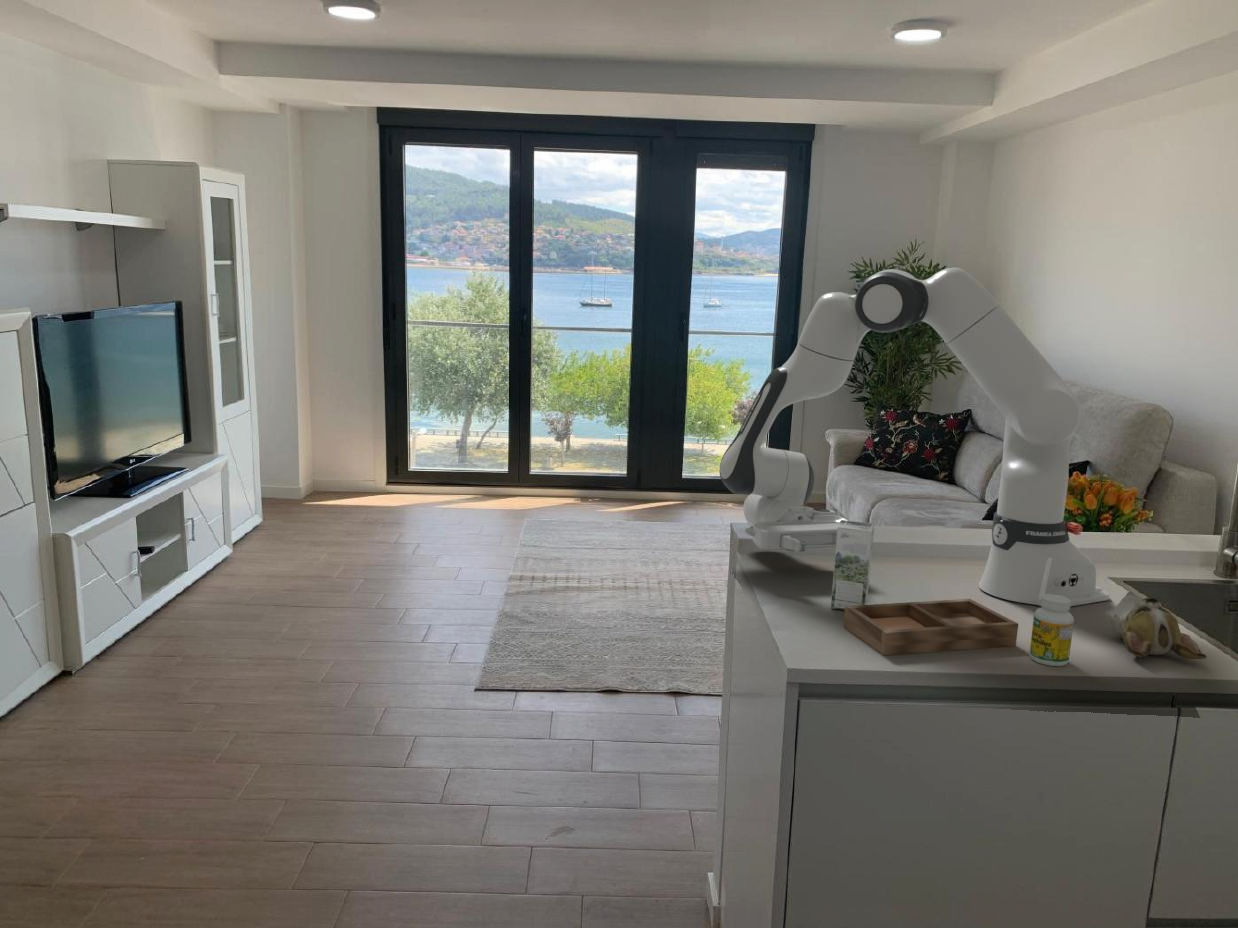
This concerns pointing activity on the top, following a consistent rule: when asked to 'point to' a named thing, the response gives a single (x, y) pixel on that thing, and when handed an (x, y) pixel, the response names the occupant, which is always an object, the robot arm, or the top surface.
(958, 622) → the divided wooden tray
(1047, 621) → the supplement bottle
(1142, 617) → the tan plush toy
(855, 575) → the syrup box
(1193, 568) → the top surface
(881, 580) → the top surface
